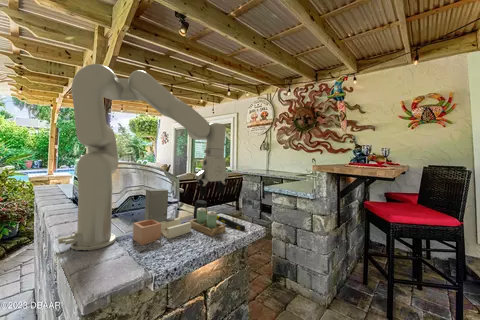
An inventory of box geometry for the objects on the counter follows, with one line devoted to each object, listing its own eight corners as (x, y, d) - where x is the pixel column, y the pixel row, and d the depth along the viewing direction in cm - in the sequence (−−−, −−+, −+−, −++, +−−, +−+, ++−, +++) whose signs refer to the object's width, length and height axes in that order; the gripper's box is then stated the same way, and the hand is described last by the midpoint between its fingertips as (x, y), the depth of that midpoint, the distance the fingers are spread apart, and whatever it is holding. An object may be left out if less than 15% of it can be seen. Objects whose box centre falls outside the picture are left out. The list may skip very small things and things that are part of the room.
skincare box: (148, 228, 85) (149, 191, 85) (143, 223, 91) (144, 188, 90) (168, 224, 91) (169, 189, 91) (162, 220, 96) (163, 187, 96)
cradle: (168, 240, 74) (168, 227, 74) (156, 233, 81) (156, 221, 80) (190, 233, 82) (191, 221, 82) (178, 227, 88) (178, 216, 88)
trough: (210, 237, 79) (211, 230, 79) (187, 227, 89) (187, 220, 89) (225, 232, 85) (225, 225, 85) (202, 223, 95) (202, 217, 95)
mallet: (247, 230, 89) (248, 209, 89) (240, 234, 84) (241, 211, 84) (199, 217, 105) (200, 198, 104) (190, 219, 100) (191, 200, 99)
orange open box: (141, 245, 70) (142, 228, 70) (132, 239, 74) (133, 222, 74) (160, 239, 75) (161, 223, 75) (151, 234, 80) (152, 218, 80)
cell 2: (210, 233, 81) (211, 213, 81) (204, 230, 84) (205, 211, 84) (218, 230, 85) (218, 211, 84) (211, 227, 87) (212, 209, 87)
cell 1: (200, 228, 86) (201, 209, 86) (194, 225, 89) (195, 208, 89) (207, 226, 89) (208, 208, 89) (201, 223, 92) (202, 206, 92)
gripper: (204, 152, 75) (201, 198, 75) (235, 155, 88) (232, 194, 88) (192, 151, 79) (189, 195, 80) (223, 154, 93) (220, 191, 93)
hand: (211, 194), depth 84 cm, fingers open, 9 cm apart
